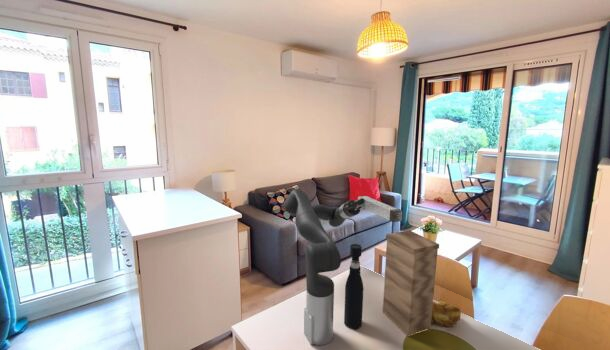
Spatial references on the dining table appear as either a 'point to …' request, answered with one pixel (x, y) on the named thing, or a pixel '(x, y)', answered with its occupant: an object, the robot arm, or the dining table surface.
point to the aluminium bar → (381, 209)
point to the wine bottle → (354, 291)
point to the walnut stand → (409, 280)
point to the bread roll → (445, 314)
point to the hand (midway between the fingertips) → (367, 200)
